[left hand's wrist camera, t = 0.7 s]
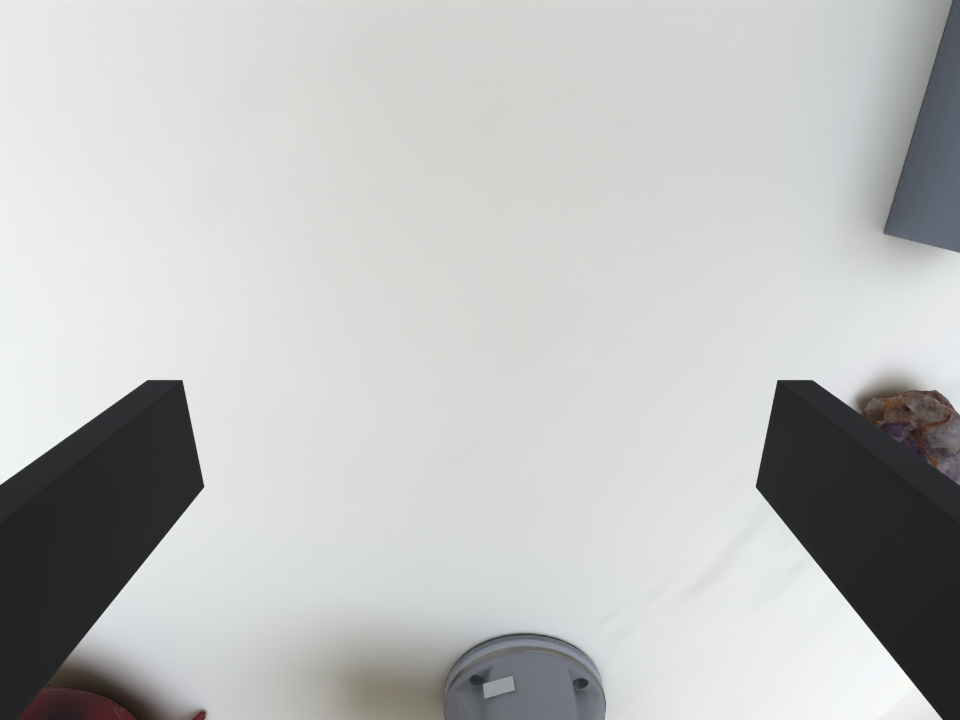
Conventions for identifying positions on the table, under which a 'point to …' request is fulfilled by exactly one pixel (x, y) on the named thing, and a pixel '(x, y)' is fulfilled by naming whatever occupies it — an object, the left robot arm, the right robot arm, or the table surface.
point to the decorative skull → (76, 706)
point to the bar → (934, 156)
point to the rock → (921, 427)
